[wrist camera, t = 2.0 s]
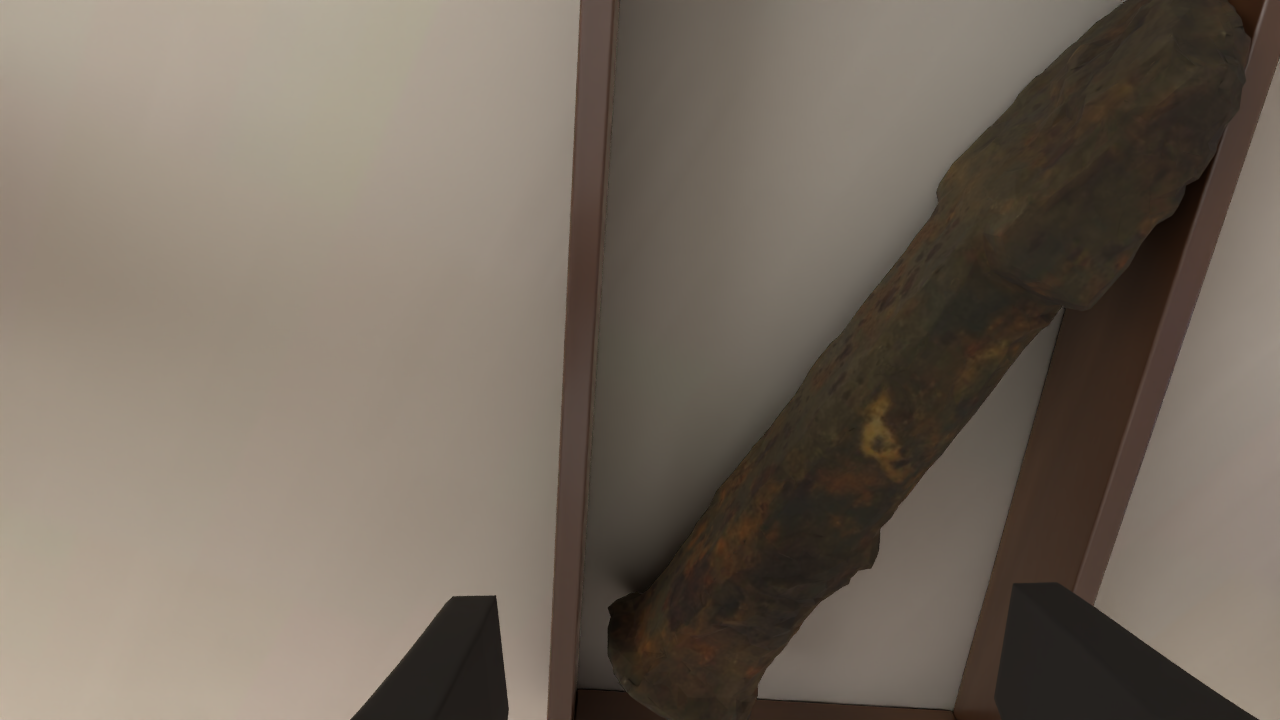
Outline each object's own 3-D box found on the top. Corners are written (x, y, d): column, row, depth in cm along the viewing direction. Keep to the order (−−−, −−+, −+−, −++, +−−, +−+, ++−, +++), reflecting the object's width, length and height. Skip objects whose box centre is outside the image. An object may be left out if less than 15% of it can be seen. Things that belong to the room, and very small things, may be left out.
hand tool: (721, 655, 24) (741, 795, 20) (602, 592, 23) (595, 724, 19) (1231, 64, 18) (1419, 78, 14) (1096, -49, 17) (1253, -73, 13)
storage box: (1227, -167, 16) (1373, -214, 13) (967, 726, 25) (1017, 832, 22) (602, -224, 16) (593, -287, 13) (555, 703, 24) (542, 807, 21)
